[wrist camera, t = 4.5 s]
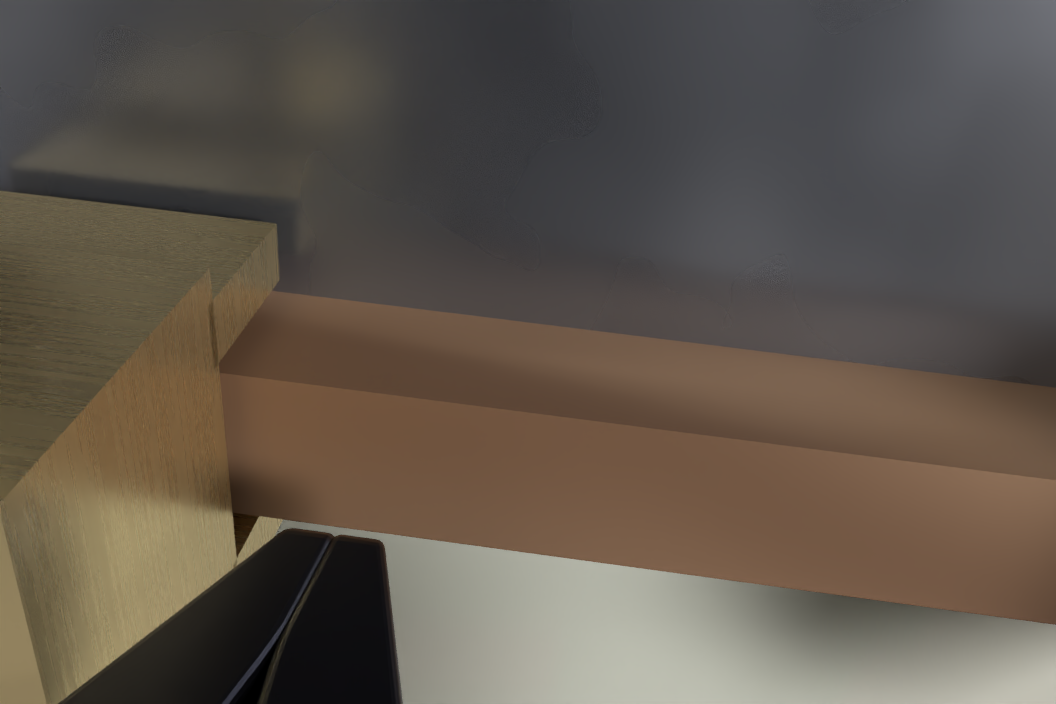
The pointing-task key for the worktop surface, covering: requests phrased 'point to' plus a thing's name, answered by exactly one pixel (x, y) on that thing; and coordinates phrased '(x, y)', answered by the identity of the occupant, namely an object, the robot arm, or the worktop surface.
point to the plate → (588, 158)
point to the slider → (114, 426)
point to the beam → (647, 453)
